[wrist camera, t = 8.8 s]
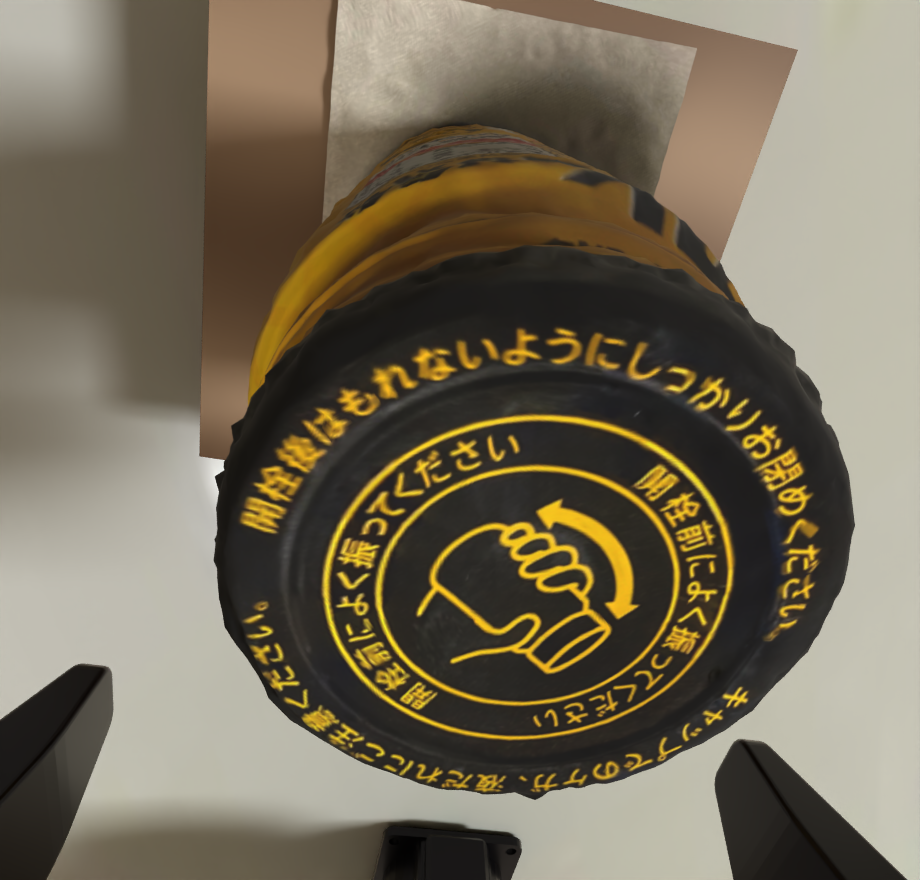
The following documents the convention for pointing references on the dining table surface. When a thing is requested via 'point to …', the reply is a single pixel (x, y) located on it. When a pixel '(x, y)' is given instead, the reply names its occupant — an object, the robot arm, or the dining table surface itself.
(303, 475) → the condiment
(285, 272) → the brown flat box
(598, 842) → the dining table surface
